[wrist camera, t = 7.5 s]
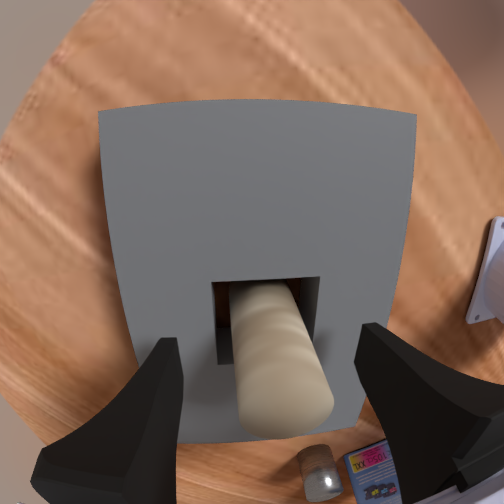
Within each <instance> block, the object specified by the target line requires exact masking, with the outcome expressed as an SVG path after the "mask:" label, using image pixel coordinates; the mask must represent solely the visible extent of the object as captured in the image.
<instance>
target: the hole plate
mask: <svg viewBox="0 0 504 504" xmlns="http://www.w3.org/2000/svg"><path fill="white" fill-rule="evenodd" d="M98 119H99V140H100V155H101V168H102V178H103V188H104V197H105V205H106V213H107V220H108V227H109V234H110V240H111V246H112V252H113V258H114V264H115V269H116V274H117V279H118V284H119V289H120V294H121V299H122V303H123V308H124V312H125V316H126V320H127V324H128V329H129V332H130V336H131V340H132V344H133V348H134V351H135V355H136V359H137V362H138V366H139V368H140V367H141V365H142V364H143V363H144V361H145V360H146V358H147V357H148V355H149V354H150V352H151V351H152V349H153V348H154V346H155V345H156V343H157V342H158V340H159V339H160V338H161V337H177V342H178V347H179V353H180V359H181V364H182V369H183V375H184V390H183V404H182V411H181V418H180V425H179V432H178V439H177V443H187V444H197V443H232V442H248V441H260V440H271V439H264V438H260V437H256V436H254V435H252V434H250V433H248V432H247V431H246V430H245V429H244V428H243V427H242V426H241V424H240V421H239V413H238V403H237V392H236V380H235V369H234V356H233V344H232V331H231V327H224V328H217V322H216V308H215V294H214V282H221V281H243V280H263V279H282V278H300V277H301V283H300V297H299V309H298V310H299V313H300V315H301V317H302V320H303V322H304V325H305V327H306V330H307V332H308V335H309V337H310V340H311V342H312V345H313V347H314V350H315V352H316V355H317V357H318V360H319V362H320V365H321V367H322V370H323V372H324V375H325V377H326V380H327V382H328V385H329V387H330V390H331V392H332V395H333V398H334V407H333V410H332V412H331V414H330V415H329V417H328V418H327V419H326V420H325V421H324V422H323V423H322V424H321V425H319V426H318V427H316V428H315V429H313V430H311V431H310V432H307V433H305V434H303V435H310V434H317V433H323V432H328V431H334V430H339V429H344V428H349V427H354V426H355V425H356V422H357V420H358V417H359V414H360V412H361V409H362V406H363V403H364V400H365V397H366V393H365V391H364V389H363V387H362V385H361V383H360V380H359V377H358V374H357V371H356V368H355V365H354V358H355V354H356V350H357V346H358V341H359V337H360V332H361V328H362V324H365V323H373V322H376V323H378V324H380V325H381V326H383V327H384V328H386V327H387V323H388V319H389V315H390V311H391V307H392V303H393V298H394V294H395V289H396V285H397V280H398V275H399V270H400V265H401V259H402V254H403V248H404V242H405V236H406V229H407V223H408V215H409V208H410V200H411V191H412V182H413V171H414V159H415V144H416V122H417V115H416V114H411V113H405V112H399V111H393V110H386V109H380V108H372V107H365V106H356V105H347V104H337V103H326V102H313V101H295V100H266V99H231V100H202V101H184V102H171V103H160V104H150V105H141V106H133V107H125V108H118V109H111V110H104V111H98ZM303 435H300V436H303Z"/></svg>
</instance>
